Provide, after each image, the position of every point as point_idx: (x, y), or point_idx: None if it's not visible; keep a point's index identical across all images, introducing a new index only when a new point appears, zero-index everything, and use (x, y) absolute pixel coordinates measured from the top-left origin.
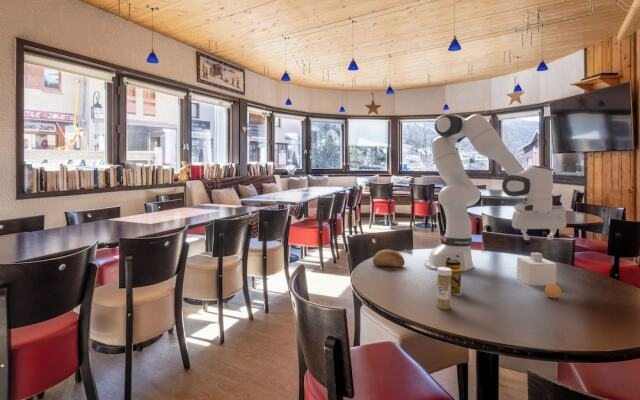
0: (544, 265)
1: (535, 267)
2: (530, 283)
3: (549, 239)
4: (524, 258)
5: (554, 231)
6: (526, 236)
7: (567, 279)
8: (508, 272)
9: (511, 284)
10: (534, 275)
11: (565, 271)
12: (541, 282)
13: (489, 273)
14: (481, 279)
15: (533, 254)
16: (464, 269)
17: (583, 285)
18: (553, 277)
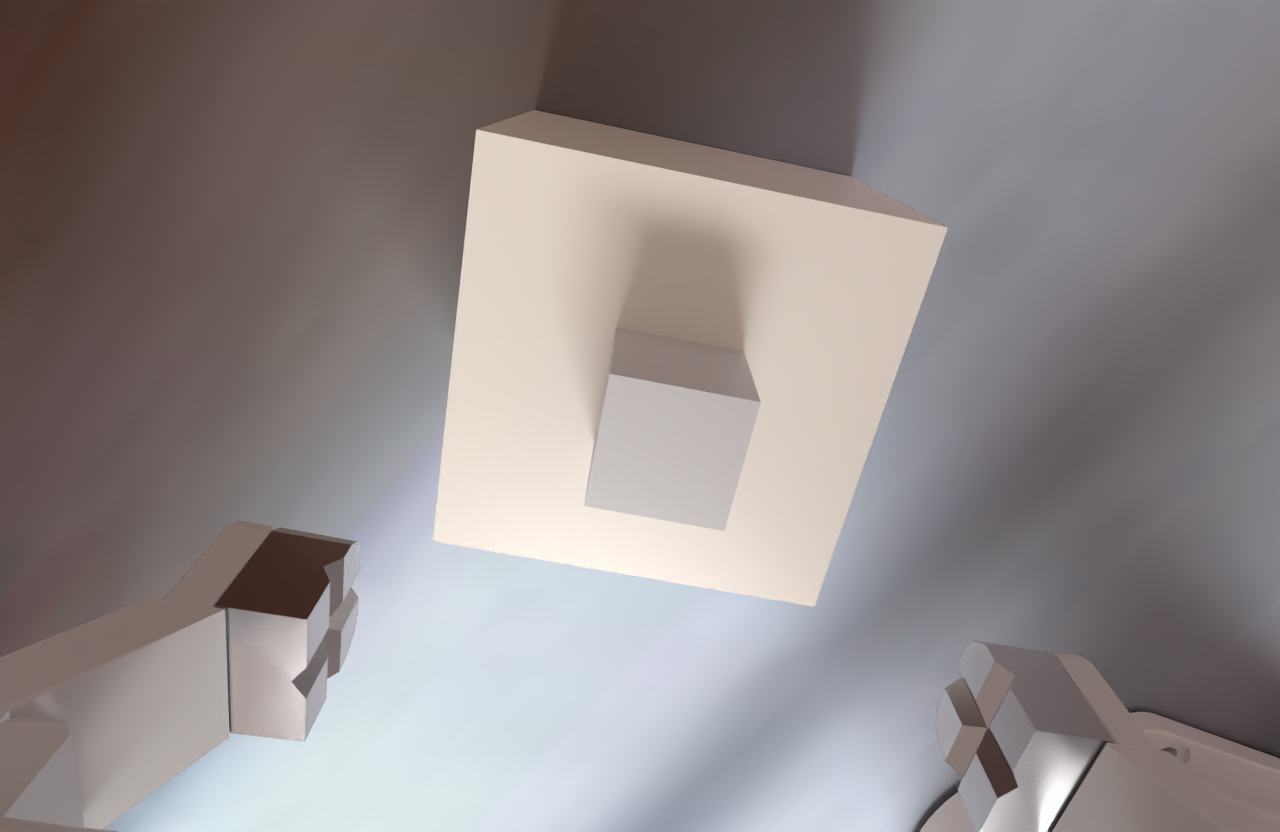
0: (693, 170)
1: (838, 197)
2: (841, 177)
3: (356, 545)
4: (755, 539)
5: (12, 713)
6: (1131, 727)
7: (214, 304)
8: (713, 621)
9: (1029, 249)
10: (820, 180)
11: (55, 556)
12: (707, 149)
13: (940, 623)
14: (1204, 466)
15: (745, 441)
16: (1157, 727)
17: (159, 52)
18: (549, 120)
